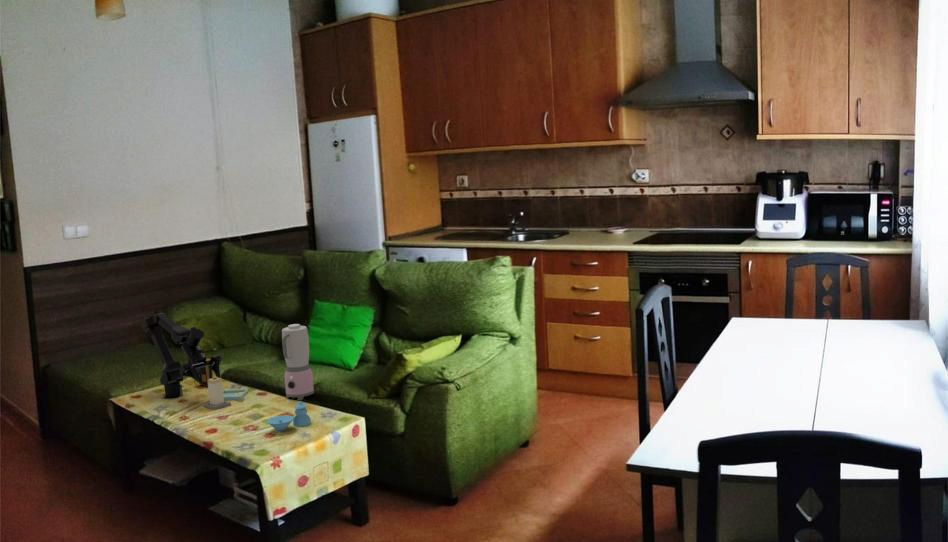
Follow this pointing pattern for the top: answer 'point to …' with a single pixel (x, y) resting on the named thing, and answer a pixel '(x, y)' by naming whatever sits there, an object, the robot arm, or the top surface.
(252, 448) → the top surface
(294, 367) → the blender
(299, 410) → the blue small pieces
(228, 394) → the parts tray
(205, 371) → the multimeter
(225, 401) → the small gray square tray
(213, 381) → the block
